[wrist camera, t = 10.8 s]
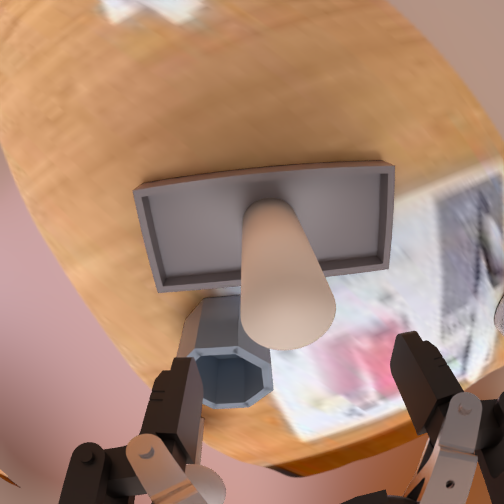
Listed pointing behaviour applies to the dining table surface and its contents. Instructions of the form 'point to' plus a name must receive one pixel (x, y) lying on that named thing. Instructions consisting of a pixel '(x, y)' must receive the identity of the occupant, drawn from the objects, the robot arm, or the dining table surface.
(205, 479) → the lollipop
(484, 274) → the dining table surface
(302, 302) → the peg
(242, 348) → the grey octagonal collar
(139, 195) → the tray
